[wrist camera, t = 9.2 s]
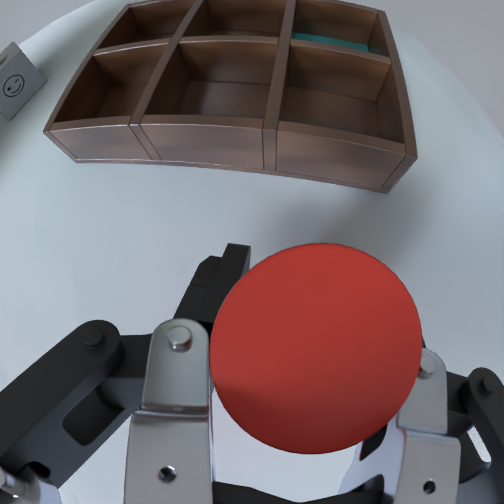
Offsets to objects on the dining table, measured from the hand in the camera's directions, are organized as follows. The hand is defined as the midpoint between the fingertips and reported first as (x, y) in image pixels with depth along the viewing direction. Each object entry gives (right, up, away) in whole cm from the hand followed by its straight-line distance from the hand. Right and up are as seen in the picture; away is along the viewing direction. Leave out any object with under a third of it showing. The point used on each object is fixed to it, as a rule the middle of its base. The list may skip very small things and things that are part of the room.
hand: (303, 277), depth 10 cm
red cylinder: (0, -3, +4) cm, 4 cm away
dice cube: (-24, +16, +9) cm, 31 cm away
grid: (-3, +11, +7) cm, 14 cm away
